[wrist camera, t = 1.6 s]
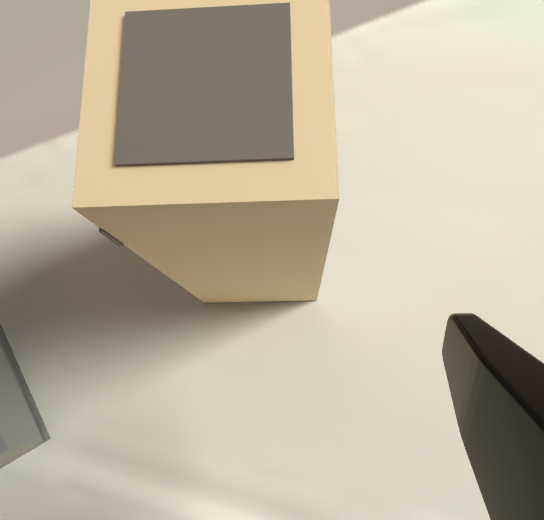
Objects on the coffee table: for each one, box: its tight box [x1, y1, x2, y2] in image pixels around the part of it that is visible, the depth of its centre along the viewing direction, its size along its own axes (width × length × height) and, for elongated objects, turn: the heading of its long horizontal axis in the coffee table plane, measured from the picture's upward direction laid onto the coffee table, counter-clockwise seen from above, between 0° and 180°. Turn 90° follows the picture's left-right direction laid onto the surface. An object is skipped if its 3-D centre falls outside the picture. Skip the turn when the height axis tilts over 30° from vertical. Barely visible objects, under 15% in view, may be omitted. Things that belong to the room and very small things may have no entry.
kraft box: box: [72, 0, 339, 303], centre depth 15 cm, size 5×5×13 cm
